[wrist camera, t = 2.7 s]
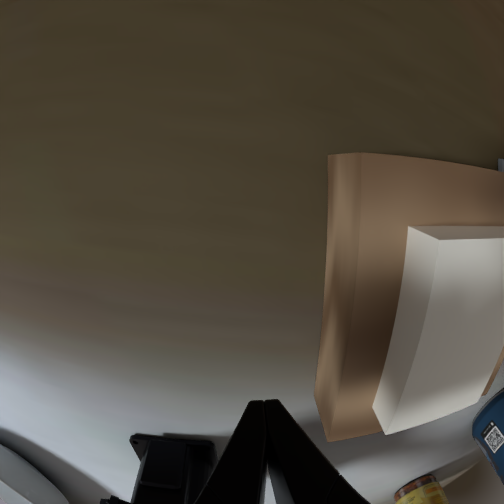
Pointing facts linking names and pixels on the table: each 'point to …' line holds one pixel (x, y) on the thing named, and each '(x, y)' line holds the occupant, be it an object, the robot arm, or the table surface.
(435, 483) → the sauce bottle
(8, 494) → the serving bowl
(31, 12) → the table surface
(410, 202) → the tan square plate
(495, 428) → the soda can
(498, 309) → the white rectangular block
